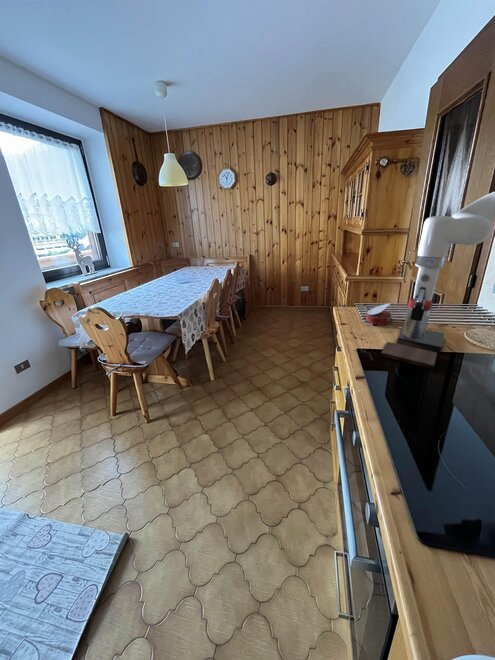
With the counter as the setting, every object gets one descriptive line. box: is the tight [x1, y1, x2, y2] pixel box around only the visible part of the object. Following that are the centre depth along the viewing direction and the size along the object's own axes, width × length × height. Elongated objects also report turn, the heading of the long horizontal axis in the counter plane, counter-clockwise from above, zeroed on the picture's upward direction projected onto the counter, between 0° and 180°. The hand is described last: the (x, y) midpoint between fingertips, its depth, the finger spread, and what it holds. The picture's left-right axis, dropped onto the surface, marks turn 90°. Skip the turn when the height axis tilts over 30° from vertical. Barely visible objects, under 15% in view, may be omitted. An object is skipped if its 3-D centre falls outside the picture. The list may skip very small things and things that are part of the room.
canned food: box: [365, 302, 392, 326], centre depth 124 cm, size 11×10×10 cm
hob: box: [396, 325, 445, 354], centre depth 108 cm, size 15×13×3 cm
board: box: [380, 341, 438, 370], centre depth 99 cm, size 16×9×2 cm, turn 54°
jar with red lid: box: [402, 297, 434, 339], centre depth 92 cm, size 7×7×12 cm
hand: (417, 315), depth 92 cm, fingers closed on jar with red lid, 6 cm apart
